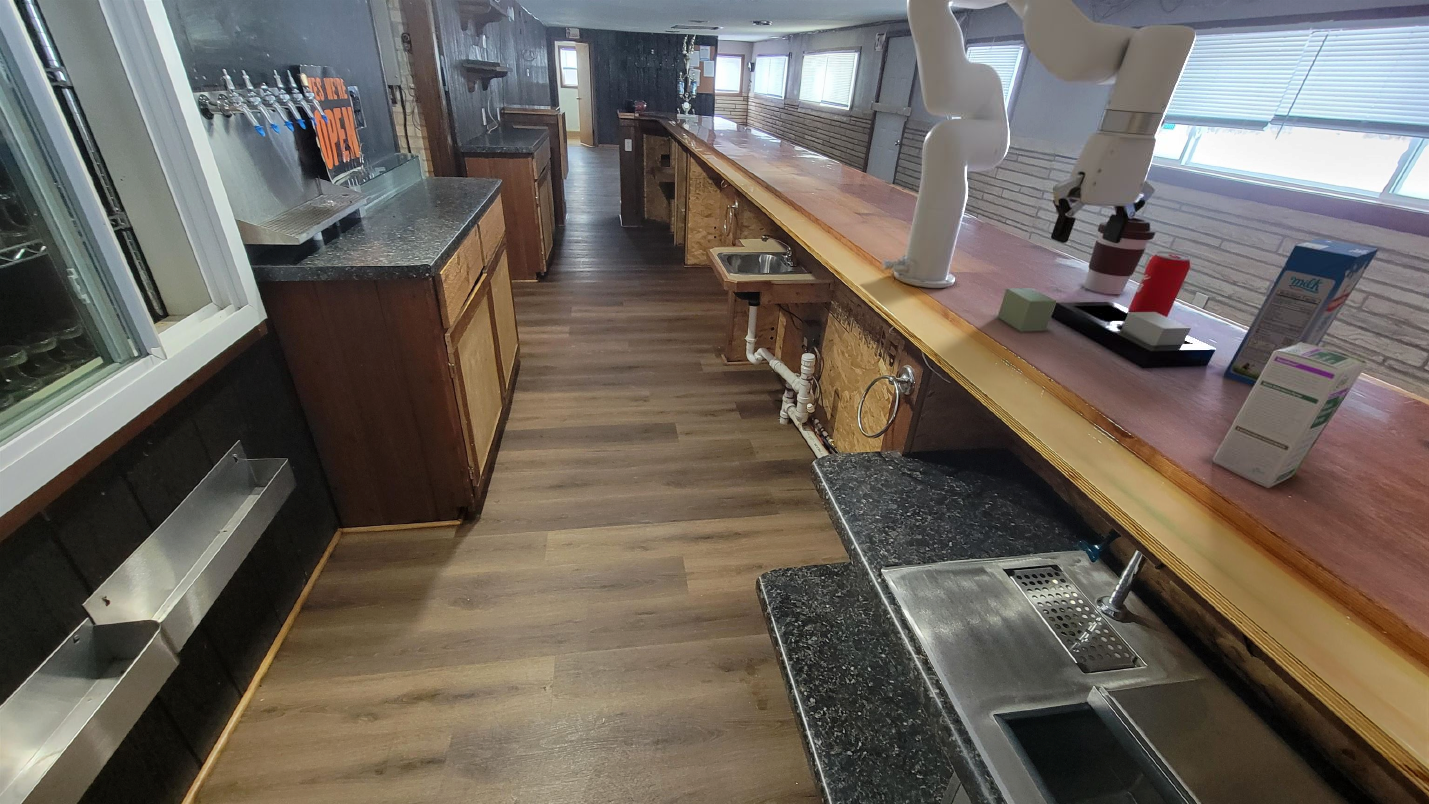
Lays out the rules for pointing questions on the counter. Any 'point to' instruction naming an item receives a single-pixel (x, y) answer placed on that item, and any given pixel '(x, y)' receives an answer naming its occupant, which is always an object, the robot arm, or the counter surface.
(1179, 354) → the frame
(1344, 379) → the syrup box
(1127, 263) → the coffee cup
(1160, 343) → the light grey block
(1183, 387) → the counter surface
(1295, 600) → the counter surface
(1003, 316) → the pale green block
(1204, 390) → the counter surface
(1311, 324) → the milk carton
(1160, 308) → the beverage can
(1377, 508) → the counter surface
